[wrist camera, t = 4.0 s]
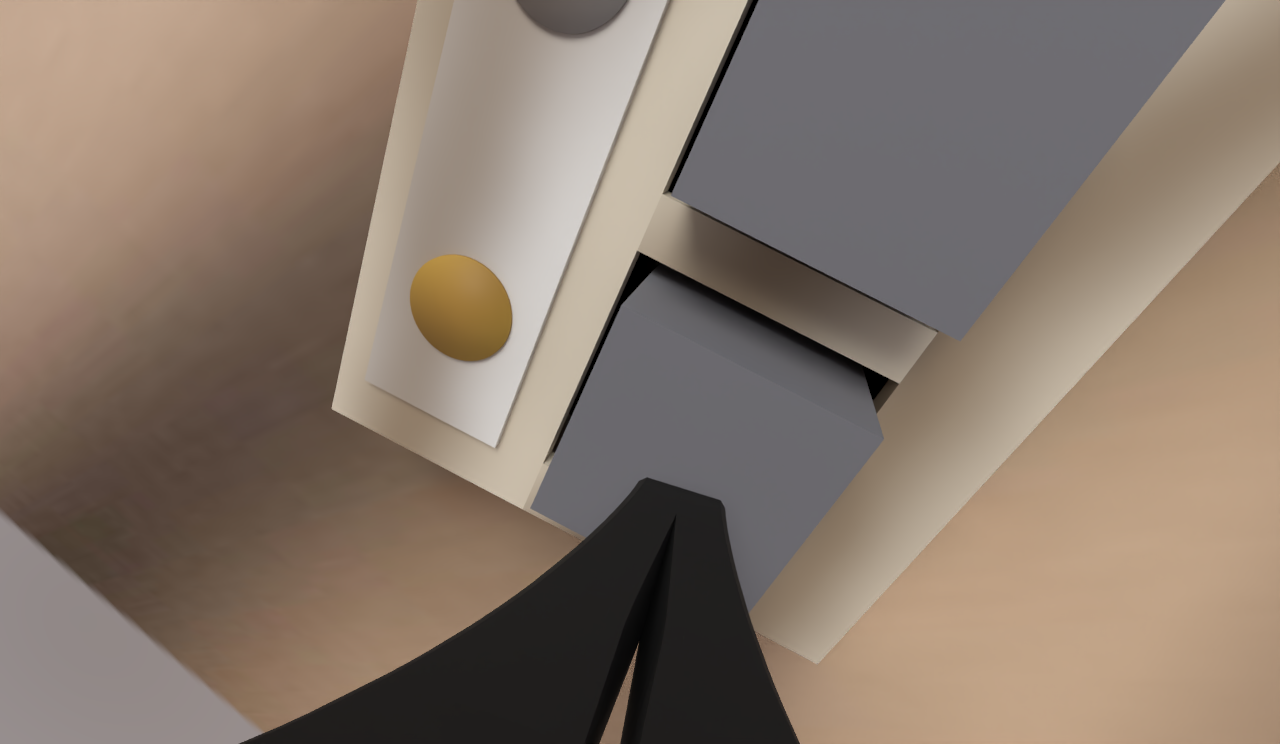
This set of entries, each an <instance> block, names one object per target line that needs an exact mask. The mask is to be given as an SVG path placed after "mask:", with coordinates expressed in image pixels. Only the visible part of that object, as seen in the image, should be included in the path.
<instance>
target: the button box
mask: <svg viewBox="0 0 1280 744" xmlns="http://www.w3.org/2000/svg"><path fill="white" fill-rule="evenodd" d="M752 1H753V0H418V1H417V6H416V10H415V15H414V20H413V25H412V29H411V34H410V39H409V44H408V48H407V53H406V58H405V63H404V67H403V72H402V77H401V82H400V86H399V91H398V96H397V101H396V105H395V110H394V115H393V120H392V125H391V129H390V134H389V139H388V144H387V148H386V153H385V158H384V163H383V167H382V172H381V177H380V182H379V186H378V191H377V196H376V201H375V205H374V210H373V215H372V220H371V224H370V229H369V234H368V239H367V243H366V248H365V253H364V258H363V262H362V267H361V272H360V277H359V281H358V286H357V291H356V296H355V300H354V305H353V310H352V315H351V319H350V324H349V329H348V334H347V338H346V343H345V348H344V353H343V357H342V362H341V367H340V372H339V376H338V381H337V386H336V391H335V395H334V400H333V405H332V409H333V410H335V411H337V412H339V413H340V414H342V415H344V416H346V417H348V418H350V419H352V420H354V421H356V422H358V423H359V424H361V425H363V426H365V427H367V428H369V429H371V430H373V431H375V432H377V433H378V434H380V435H382V436H384V437H386V438H388V439H390V440H392V441H394V442H396V443H397V444H399V445H401V446H403V447H405V448H407V449H409V450H411V451H413V452H415V453H416V454H418V455H420V456H422V457H424V458H426V459H428V460H430V461H432V462H434V463H435V464H437V465H439V466H441V467H443V468H445V469H447V470H449V471H451V472H453V473H454V474H456V475H458V476H460V477H462V478H464V479H466V480H468V481H470V482H472V483H473V484H475V485H477V486H479V487H481V488H483V489H485V490H487V491H489V492H491V493H492V494H494V495H496V496H498V497H500V498H502V499H504V500H506V501H508V502H510V503H511V504H513V505H515V506H517V507H519V508H521V509H523V510H525V511H527V512H529V513H530V514H532V515H534V516H536V517H538V518H540V519H542V520H544V521H546V522H548V523H549V524H551V525H553V526H555V527H557V528H559V529H561V530H563V531H565V532H567V533H568V534H570V535H572V536H574V537H576V538H578V539H580V540H582V541H583V540H584V539H585V537H584V536H582V535H580V534H578V533H576V532H574V531H572V530H570V529H568V528H566V527H565V526H563V525H561V524H559V523H557V522H555V521H553V520H551V519H549V518H547V517H545V516H544V515H542V514H540V513H538V512H536V511H534V510H532V509H530V507H531V505H532V503H533V501H534V499H535V496H536V494H537V492H538V490H539V487H540V485H541V483H542V481H543V479H544V476H545V474H546V472H547V470H548V467H549V465H550V463H551V461H552V459H553V456H554V454H555V452H556V450H557V447H558V445H559V443H560V441H561V438H562V436H563V434H564V432H565V430H566V427H567V425H568V423H569V421H570V418H571V416H572V415H570V414H569V412H570V409H571V407H572V405H573V403H574V400H575V398H576V396H577V394H578V391H579V389H580V387H581V385H582V382H583V380H584V378H585V376H586V373H587V371H588V369H589V367H590V364H591V362H592V360H593V358H594V356H595V353H596V351H597V349H598V347H599V344H600V342H601V340H602V338H603V335H604V333H605V331H606V329H607V326H608V324H609V322H610V320H611V317H612V315H613V313H614V311H615V308H616V306H617V304H618V302H619V299H620V297H621V295H622V293H623V290H624V288H625V286H626V284H627V281H628V279H629V277H630V275H631V273H632V270H633V268H634V266H635V264H636V261H637V259H638V257H639V255H640V252H641V253H643V254H645V255H647V256H649V257H651V258H653V259H655V260H657V261H659V262H661V263H663V264H665V265H667V266H668V267H670V268H672V269H674V270H676V271H678V272H680V273H682V274H684V275H686V276H688V277H690V278H692V279H694V280H696V281H698V282H700V283H702V284H704V285H706V286H708V287H710V288H712V289H714V290H716V291H718V292H720V293H722V294H724V295H726V296H728V297H730V298H732V299H733V300H735V301H737V302H739V303H741V304H743V305H745V306H747V307H749V308H751V309H753V310H755V311H757V312H759V313H761V314H763V315H765V316H767V317H769V318H771V319H773V320H775V321H777V322H779V323H781V324H783V325H785V326H787V327H789V328H791V329H793V330H795V331H796V332H798V333H800V334H802V335H804V336H806V337H808V338H810V339H812V340H814V341H816V342H818V343H820V344H822V345H824V346H826V347H828V348H830V349H832V350H834V351H836V352H838V353H840V354H842V355H844V356H846V357H848V358H850V359H852V360H854V361H856V362H858V363H860V364H861V365H863V366H865V367H867V368H869V369H871V370H873V371H875V372H877V373H879V374H881V375H883V376H885V377H887V378H889V380H888V381H887V383H886V384H885V385H884V387H883V388H882V390H881V391H880V392H879V394H878V395H877V396H876V398H875V399H874V400H873V404H874V407H875V410H876V414H877V417H878V420H879V424H880V427H881V430H882V434H883V437H884V440H883V441H882V443H881V444H880V445H879V447H878V448H877V449H876V450H875V452H874V453H873V454H872V456H871V457H870V458H869V459H868V461H867V462H866V463H865V465H864V466H863V467H862V468H861V470H860V471H859V472H858V474H857V475H856V476H855V477H854V479H853V480H852V481H851V483H850V484H849V485H848V486H847V488H846V489H845V490H844V492H843V493H842V494H841V495H840V497H839V498H838V499H837V501H836V502H835V503H834V504H833V506H832V507H831V508H830V510H829V511H828V512H827V513H826V515H825V516H824V517H823V519H822V520H821V521H820V522H819V524H818V525H817V526H816V528H815V529H814V530H813V531H812V533H811V534H810V535H809V537H808V538H807V539H806V540H805V542H804V543H803V544H802V546H801V547H800V548H799V549H798V551H797V552H796V553H795V555H794V556H793V557H792V558H791V560H790V561H789V562H788V564H787V565H786V566H785V567H784V569H783V570H782V571H781V573H780V574H779V575H778V576H777V578H776V579H775V580H774V582H773V583H772V584H771V585H770V587H769V588H768V589H767V591H766V592H765V593H764V594H763V596H762V597H761V598H760V600H759V601H758V602H757V603H756V605H755V606H754V607H753V609H752V610H751V611H750V612H749V616H750V619H751V622H752V625H753V628H754V631H755V632H757V633H759V634H760V635H762V636H764V637H766V638H768V639H770V640H772V641H774V642H776V643H778V644H779V645H781V646H783V647H785V648H787V649H789V650H791V651H793V652H795V653H797V654H798V655H800V656H802V657H804V658H806V659H808V660H810V661H812V662H814V663H816V664H818V663H819V662H820V661H821V660H822V659H823V658H824V657H825V656H826V655H827V653H828V652H829V651H830V650H831V649H832V648H833V647H834V646H835V645H836V644H837V643H838V642H839V640H840V639H841V638H842V637H843V636H844V635H845V634H846V633H847V632H848V631H849V630H850V628H851V627H852V626H853V625H854V624H855V623H856V622H857V621H858V620H859V619H860V618H861V617H862V615H863V614H864V613H865V612H866V611H867V610H868V609H869V608H870V607H871V606H872V605H873V603H874V602H875V601H876V600H877V599H878V598H879V597H880V596H881V595H882V594H883V593H884V592H885V590H886V589H887V588H888V587H889V586H890V585H891V584H892V583H893V582H894V581H895V580H896V578H897V577H898V576H899V575H900V574H901V573H902V572H903V571H904V570H905V569H906V568H907V567H908V565H909V564H910V563H911V562H912V561H913V560H914V559H915V558H916V557H917V556H918V555H919V553H920V552H921V551H922V550H923V549H924V548H925V547H926V546H927V545H928V544H929V543H930V542H931V540H932V539H933V538H934V537H935V536H936V535H937V534H938V533H939V532H940V531H941V530H942V529H943V527H944V526H945V525H946V524H947V523H948V522H949V521H950V520H951V519H952V518H953V517H954V515H955V514H956V513H957V512H958V511H959V510H960V509H961V508H962V507H963V506H964V505H965V504H966V502H967V501H968V500H969V499H970V498H971V497H972V496H973V495H974V494H975V493H976V492H977V490H978V489H979V488H980V487H981V486H982V485H983V484H984V483H985V482H986V481H987V480H988V479H989V477H990V476H991V475H992V474H993V473H994V472H995V471H996V470H997V469H998V468H999V467H1000V465H1001V464H1002V463H1003V462H1004V461H1005V460H1006V459H1007V458H1008V457H1009V456H1010V455H1011V454H1012V452H1013V451H1014V450H1015V449H1016V448H1017V447H1018V446H1019V445H1020V444H1021V443H1022V442H1023V441H1024V439H1025V438H1026V437H1027V436H1028V435H1029V434H1030V433H1031V432H1032V431H1033V430H1034V429H1035V427H1036V426H1037V425H1038V424H1039V423H1040V422H1041V421H1042V420H1043V419H1044V418H1045V417H1046V416H1047V414H1048V413H1049V412H1050V411H1051V410H1052V409H1053V408H1054V407H1055V406H1056V405H1057V404H1058V402H1059V401H1060V400H1061V399H1062V398H1063V397H1064V396H1065V395H1066V394H1067V393H1068V392H1069V391H1070V389H1071V388H1072V387H1073V386H1074V385H1075V384H1076V383H1077V382H1078V381H1079V380H1080V379H1081V377H1082V376H1083V375H1084V374H1085V373H1086V372H1087V371H1088V370H1089V369H1090V368H1091V367H1092V366H1093V364H1094V363H1095V362H1096V361H1097V360H1098V359H1099V358H1100V357H1101V356H1102V355H1103V354H1104V353H1105V351H1106V350H1107V349H1108V348H1109V347H1110V346H1111V345H1112V344H1113V343H1114V342H1115V341H1116V339H1117V338H1118V337H1119V336H1120V335H1121V334H1122V333H1123V332H1124V331H1125V330H1126V329H1127V328H1128V326H1129V325H1130V324H1131V323H1132V322H1133V321H1134V320H1135V319H1136V318H1137V317H1138V316H1139V314H1140V313H1141V312H1142V311H1143V310H1144V309H1145V308H1146V307H1147V306H1148V305H1149V304H1150V303H1151V301H1152V300H1153V299H1154V298H1155V297H1156V296H1157V295H1158V294H1159V293H1160V292H1161V291H1162V289H1163V288H1164V287H1165V286H1166V285H1167V284H1168V283H1169V282H1170V281H1171V280H1172V279H1173V278H1174V276H1175V275H1176V274H1177V273H1178V272H1179V271H1180V270H1181V269H1182V268H1183V267H1184V266H1185V264H1186V263H1187V262H1188V261H1189V260H1190V259H1191V258H1192V257H1193V256H1194V255H1195V254H1196V253H1197V251H1198V250H1199V249H1200V248H1201V247H1202V246H1203V245H1204V244H1205V243H1206V242H1207V241H1208V240H1209V238H1210V237H1211V236H1212V235H1213V234H1214V233H1215V232H1216V231H1217V230H1218V229H1219V228H1220V226H1221V225H1222V224H1223V223H1224V222H1225V221H1226V220H1227V219H1228V218H1229V217H1230V216H1231V215H1232V213H1233V212H1234V211H1235V210H1236V209H1237V208H1238V207H1239V206H1240V205H1241V204H1242V203H1243V201H1244V200H1245V199H1246V198H1247V197H1248V196H1249V195H1250V194H1251V193H1252V192H1253V191H1254V190H1255V188H1256V187H1257V186H1258V185H1259V184H1260V183H1261V182H1262V181H1263V180H1264V179H1265V178H1266V176H1267V175H1268V174H1269V173H1270V172H1271V171H1272V170H1273V169H1274V168H1275V167H1276V166H1277V165H1278V163H1279V162H1280V0H1225V2H1224V3H1223V4H1222V5H1221V7H1220V8H1219V9H1218V11H1217V12H1216V13H1215V14H1214V16H1213V17H1212V18H1211V20H1210V21H1209V22H1208V23H1207V25H1206V26H1205V27H1204V29H1203V30H1202V31H1201V32H1200V34H1199V35H1198V36H1197V38H1196V39H1195V40H1194V41H1193V43H1192V44H1191V45H1190V47H1189V48H1188V49H1187V50H1186V52H1185V53H1184V54H1183V56H1182V57H1181V58H1180V59H1179V61H1178V62H1177V63H1176V65H1175V66H1174V67H1173V68H1172V70H1171V71H1170V72H1169V74H1168V75H1167V76H1166V77H1165V79H1164V80H1163V81H1162V83H1161V84H1160V85H1159V86H1158V88H1157V89H1156V90H1155V92H1154V93H1153V94H1152V95H1151V97H1150V98H1149V99H1148V101H1147V102H1146V103H1145V104H1144V106H1143V107H1142V108H1141V110H1140V111H1139V112H1138V113H1137V115H1136V116H1135V117H1134V119H1133V120H1132V121H1131V122H1130V124H1129V125H1128V126H1127V128H1126V129H1125V130H1124V131H1123V133H1122V134H1121V135H1120V137H1119V138H1118V139H1117V140H1116V142H1115V143H1114V144H1113V146H1112V147H1111V148H1110V149H1109V151H1108V152H1107V153H1106V155H1105V156H1104V157H1103V158H1102V160H1101V161H1100V162H1099V164H1098V165H1097V166H1096V167H1095V169H1094V170H1093V171H1092V173H1091V174H1090V175H1089V176H1088V178H1087V179H1086V180H1085V182H1084V183H1083V184H1082V185H1081V187H1080V188H1079V189H1078V191H1077V192H1076V193H1075V194H1074V196H1073V197H1072V198H1071V200H1070V201H1069V202H1068V203H1067V205H1066V206H1065V207H1064V209H1063V210H1062V211H1061V212H1060V214H1059V215H1058V216H1057V218H1056V219H1055V220H1054V221H1053V223H1052V224H1051V225H1050V227H1049V228H1048V229H1047V230H1046V232H1045V233H1044V234H1043V236H1042V237H1041V238H1040V239H1039V241H1038V242H1037V243H1036V245H1035V246H1034V247H1033V248H1032V250H1031V251H1030V252H1029V254H1028V255H1027V256H1026V257H1025V259H1024V260H1023V261H1022V263H1021V264H1020V265H1019V266H1018V268H1017V269H1016V270H1015V272H1014V273H1013V274H1012V275H1011V277H1010V278H1009V279H1008V281H1007V282H1006V283H1005V284H1004V286H1003V287H1002V288H1001V290H1000V291H999V292H998V293H997V295H996V296H995V297H994V299H993V300H992V301H991V302H990V304H989V305H988V306H987V308H986V309H985V310H984V311H983V313H982V314H981V315H980V317H979V318H978V319H977V320H976V322H975V323H974V324H973V326H972V327H971V328H970V329H969V331H968V332H967V333H966V335H965V336H964V337H963V338H962V340H961V341H958V340H956V339H954V338H952V337H950V336H948V335H946V334H944V333H942V332H940V331H938V330H936V329H935V328H933V327H931V326H929V325H927V324H925V323H923V322H921V321H919V320H917V319H915V318H913V317H911V316H909V315H907V314H905V313H903V312H901V311H899V310H897V309H895V308H893V307H891V306H889V305H887V304H885V303H883V302H881V301H879V300H877V299H875V298H873V297H871V296H869V295H867V294H865V293H863V292H861V291H859V290H857V289H855V288H853V287H851V286H849V285H847V284H845V283H843V282H841V281H839V280H837V279H835V278H833V277H831V276H829V275H827V274H825V273H823V272H821V271H819V270H817V269H815V268H813V267H811V266H809V265H807V264H805V263H803V262H801V261H799V260H797V259H796V258H794V257H792V256H790V255H788V254H786V253H784V252H782V251H780V250H778V249H776V248H774V247H772V246H770V245H768V244H766V243H764V242H762V241H760V240H758V239H756V238H754V237H752V236H750V235H748V234H746V233H744V232H742V231H740V230H738V229H736V228H734V227H732V226H730V225H728V224H726V223H724V222H722V221H720V220H718V219H716V218H714V217H712V216H710V215H708V214H706V213H704V212H702V211H700V210H698V209H696V208H694V207H692V206H690V205H688V204H686V203H684V202H682V201H680V200H678V199H676V198H674V197H672V196H671V194H672V193H671V192H669V191H668V190H669V187H670V185H671V183H672V181H673V178H674V176H675V174H676V172H677V169H678V167H679V165H680V163H681V160H682V158H683V156H684V154H685V151H686V149H687V147H688V145H689V142H690V140H691V138H692V136H693V133H694V131H695V129H696V127H697V124H698V122H699V120H700V118H701V116H702V113H703V111H704V109H705V107H706V104H707V102H708V100H709V98H710V95H711V93H712V91H713V89H714V86H715V84H716V82H717V80H718V77H719V75H720V73H721V71H722V68H723V66H724V64H725V62H726V59H727V57H728V55H729V53H730V50H731V48H732V46H733V44H734V41H735V39H736V37H737V35H738V33H739V30H740V28H741V26H742V24H743V21H744V19H745V17H746V15H747V12H748V10H749V8H750V6H751V3H752Z"/></svg>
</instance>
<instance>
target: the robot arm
mask: <svg viewBox="0 0 1280 744" xmlns="http://www.w3.org/2000/svg"><path fill="white" fill-rule="evenodd" d="M638 643H639V646H638ZM637 646H638V651H637V656H636V662H635V667H634V673H633V678H632V683H631V689H630V694H629V700H628V705H627V711H626V716H625V722H624V727H623V732H622V738H621V743H620V744H800V743H799V741H798V738H797V736H796V734H795V732H794V729H793V727H792V725H791V723H790V720H789V718H788V716H787V714H786V711H785V709H784V707H783V705H782V702H781V700H780V697H779V695H778V692H777V690H776V688H775V685H774V683H773V680H772V677H771V675H770V672H769V670H768V667H767V664H766V662H765V659H764V656H763V653H762V651H761V648H760V645H759V642H758V640H757V637H756V634H755V631H754V628H753V625H752V622H751V619H750V616H749V613H748V609H747V606H746V602H745V599H744V595H743V592H742V589H741V585H740V582H739V578H738V574H737V571H736V567H735V563H734V558H733V554H732V549H731V545H730V540H729V534H728V528H727V521H726V512H725V507H724V505H723V503H722V502H721V500H719V499H715V498H712V497H709V496H706V495H702V494H699V493H696V492H693V491H690V490H686V489H683V488H680V487H677V486H674V485H670V484H667V483H664V482H661V481H658V480H654V479H651V478H648V477H647V478H644V479H642V480H640V481H638V483H637V484H636V486H635V487H634V489H633V490H632V491H631V492H630V494H629V495H628V496H627V497H626V498H625V499H624V501H623V502H622V503H621V504H620V505H619V506H618V507H617V508H616V509H615V510H614V511H613V512H612V513H611V514H610V515H609V516H608V518H607V519H606V520H605V521H604V522H603V523H601V524H600V525H599V526H598V527H597V528H596V529H595V530H594V531H593V532H592V533H591V534H590V535H589V536H587V537H586V538H585V539H584V540H583V541H582V542H581V543H580V544H579V545H578V546H577V547H576V548H574V549H573V550H572V551H571V552H570V553H569V554H567V555H566V556H565V557H564V558H562V559H561V560H560V561H559V562H557V563H556V564H555V565H554V566H553V567H551V568H550V569H549V570H548V571H546V572H545V573H544V574H543V575H541V576H540V577H539V578H538V579H536V580H535V581H534V582H533V583H531V584H530V585H529V586H527V587H526V588H525V589H523V590H522V591H520V592H519V593H518V594H516V595H515V596H514V597H512V598H511V599H509V600H508V601H507V602H505V603H504V604H502V605H501V606H499V607H498V608H496V609H495V610H493V611H492V612H490V613H489V614H487V615H486V616H484V617H483V618H481V619H480V620H478V621H477V622H475V623H474V624H472V625H471V626H469V627H467V628H466V629H464V630H462V631H461V632H459V633H457V634H456V635H454V636H452V637H451V638H449V639H448V640H446V641H444V642H443V643H441V644H439V645H438V646H436V647H434V648H433V649H431V650H429V651H428V652H426V653H424V654H422V655H421V656H419V657H417V658H415V659H414V660H412V661H410V662H408V663H406V664H405V665H403V666H401V667H399V668H397V669H395V670H394V671H392V672H390V673H388V674H386V675H384V676H382V677H380V678H378V679H376V680H374V681H372V682H370V683H368V684H366V685H364V686H362V687H360V688H358V689H356V690H354V691H352V692H350V693H348V694H346V695H344V696H342V697H340V698H338V699H336V700H334V701H332V702H330V703H328V704H326V705H324V706H322V707H320V708H318V709H316V710H314V711H312V712H310V713H308V714H306V715H304V716H301V717H299V718H297V719H295V720H293V721H291V722H288V723H286V724H284V725H282V726H280V727H277V728H275V729H273V730H270V731H268V732H266V733H263V734H261V735H258V736H256V737H254V738H252V739H249V740H247V741H244V742H242V743H240V744H599V743H600V740H601V738H602V735H603V732H604V730H605V727H606V725H607V722H608V720H609V717H610V715H611V712H612V710H613V707H614V704H615V702H616V699H617V697H618V694H619V692H620V689H621V687H622V684H623V681H624V679H625V676H626V674H627V671H628V669H629V666H630V664H631V661H632V658H633V656H634V653H635V651H636V648H637Z"/></svg>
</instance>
